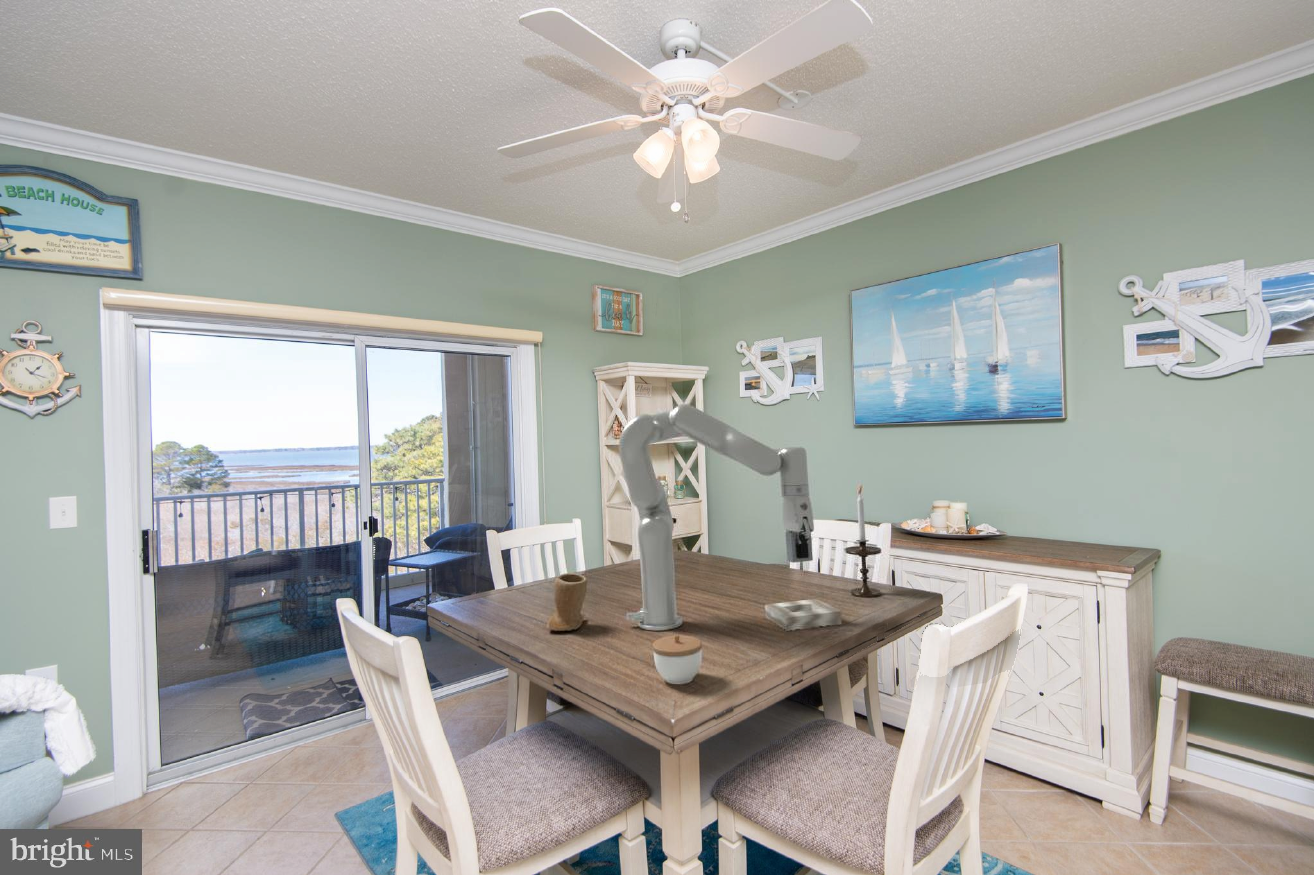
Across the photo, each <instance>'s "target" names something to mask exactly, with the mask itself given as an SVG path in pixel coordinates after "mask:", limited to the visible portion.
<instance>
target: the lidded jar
mask: <svg viewBox="0 0 1314 875" xmlns="http://www.w3.org/2000/svg"><path fill="white" fill-rule="evenodd" d="M652 643H653V644H652V652H653V659H654V660H653V662H654V665H655V668H656V670H657V672H658V674H659V675H660V676H661V677H662V678H663V679H664V681H665V682H666V683H668V684H671V685H686V684H689V683H690V682H692V681H693V680H694V678H695V677H696V676H697V674H698V673H699V671H700V668H701V665H702V659H703V658H702V656H703V650H702V648H703V643H702V640H701V639H700V638H697V637H695V636H691V635H685V634H684V635H679V634H674V635H670V636H669V635H668V636H664V637H660V638H659V639H656V640H655V641H654V642H652Z"/></svg>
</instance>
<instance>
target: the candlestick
mask: <svg viewBox="0 0 1314 875" xmlns="http://www.w3.org/2000/svg"><path fill="white" fill-rule="evenodd" d="M862 488H863V485H862V484H861V485H860V487H859V490H858V497H857V498H856V502H857V503H856V505H857V520H858V521H857V522H858V523H857V524H858V536H859V537H858V539H857V540H856V542H858V545H856V546H855V545H854V546H847V547H845V549H844V550H845V553H846V554H847V555H848V554H849V555H853V556H858V558H861V559H860V560H861V567H860V568H859V572H860V574H861V577H860V579H861V580H862V585H861V587H856V588H852V589H851V590H850V595H852V596H854V597H857V598H858V597H859V598H866V599H867V598H878V597H880V596H881V594H882V592H881V590H880V589H877V588H873V587H869V585H868V580H869V579H870V578H869V577H868V573H869V572H870V570H869V569H868V568H867V557H869V556H875V555H879V554H881V553H882V549H881V547H878V546H871V545H867V542H870V540H868V539H866V524H865V523H866V522H865V509H864V508H865V507H864V498H862V495H861V494H862V490H863V489H862Z"/></svg>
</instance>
